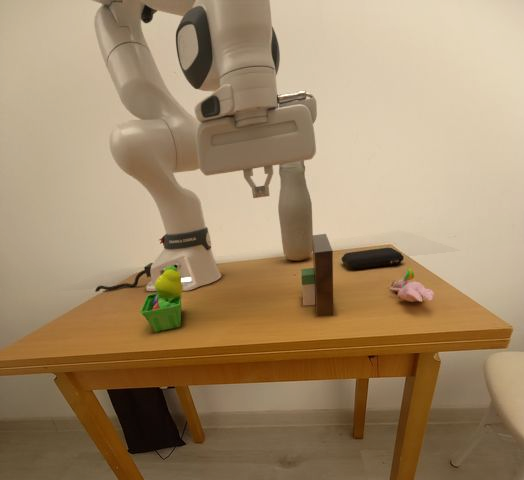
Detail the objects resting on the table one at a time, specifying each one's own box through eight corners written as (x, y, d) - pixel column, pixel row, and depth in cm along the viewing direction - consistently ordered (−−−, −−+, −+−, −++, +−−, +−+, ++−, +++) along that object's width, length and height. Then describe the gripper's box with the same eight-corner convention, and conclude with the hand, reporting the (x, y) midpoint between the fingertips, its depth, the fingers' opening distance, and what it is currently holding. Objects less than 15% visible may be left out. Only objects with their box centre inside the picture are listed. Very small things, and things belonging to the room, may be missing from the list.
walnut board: (317, 316, 56) (314, 252, 50) (314, 288, 70) (311, 235, 64) (333, 315, 56) (332, 250, 50) (327, 287, 70) (325, 233, 64)
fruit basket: (153, 315, 68) (137, 266, 63) (191, 307, 69) (179, 259, 64) (148, 336, 59) (127, 281, 53) (192, 327, 60) (177, 272, 54)
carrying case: (349, 273, 76) (407, 266, 75) (349, 261, 75) (409, 253, 74) (340, 263, 85) (392, 256, 84) (340, 252, 84) (393, 245, 83)
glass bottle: (310, 254, 99) (306, 155, 85) (316, 261, 90) (313, 152, 76) (281, 258, 99) (272, 160, 85) (284, 266, 90) (275, 158, 76)
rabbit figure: (383, 295, 64) (405, 312, 51) (384, 267, 62) (408, 277, 48) (413, 292, 63) (445, 309, 50) (415, 264, 61) (449, 273, 48)
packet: (307, 310, 62) (287, 287, 60) (307, 302, 66) (288, 280, 64) (330, 293, 60) (309, 268, 58) (328, 286, 64) (309, 262, 62)
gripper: (315, 92, 48) (318, 188, 55) (196, 115, 52) (213, 202, 58) (316, 82, 43) (319, 189, 50) (184, 108, 46) (204, 206, 53)
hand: (261, 197), depth 54 cm, fingers closed
